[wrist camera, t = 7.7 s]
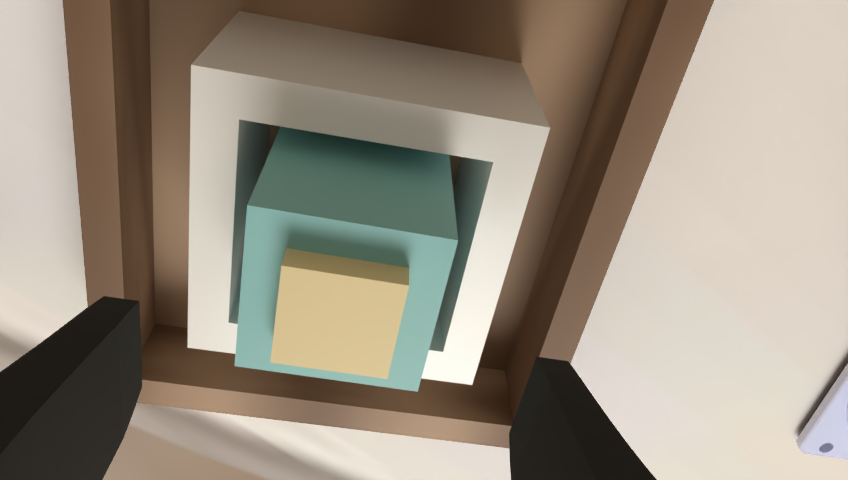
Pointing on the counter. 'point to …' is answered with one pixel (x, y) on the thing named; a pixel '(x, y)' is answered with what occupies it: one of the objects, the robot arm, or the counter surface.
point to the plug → (345, 259)
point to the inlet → (370, 121)
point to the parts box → (548, 202)
